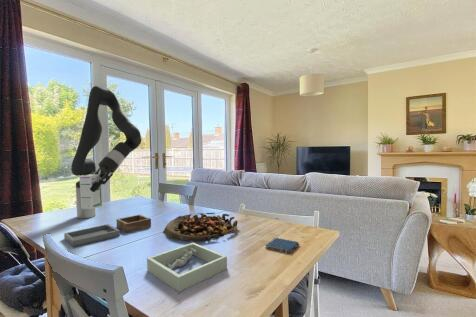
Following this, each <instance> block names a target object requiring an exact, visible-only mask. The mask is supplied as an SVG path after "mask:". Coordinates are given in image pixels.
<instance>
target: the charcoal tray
mask: <svg viewBox="0 0 476 317" xmlns="http://www.w3.org/2000/svg"><path fill="white" fill-rule="evenodd" d="M120 230H121V229H119V228H117V227H115V226H113V225H111V224H109V223H107V224H101V225H98V226H97V225H96V226H93V227H88V228H83V229H79V230H73V231H69V232H64V233H63V234H64V235H63V236H64V238H63V239H64V240H65V241H66V242H67V243H68V244H69V245H70V246H71V247H72V248H77V247H80V246H81V247H82V246H84V245H88V244H92V243H93V244H94V243H97V242H100V241H101V242H102V241H105V240H108V239H112V238H116V237H117V238H118V237H120V234H121V233H120Z"/></svg>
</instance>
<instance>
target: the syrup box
mask: <svg viewBox="0 0 476 317" xmlns="http://www.w3.org/2000/svg"><path fill="white" fill-rule="evenodd" d="M97 176H98V174H89V175H81V176H78V177H79V181H80V194H81V208H82V209H94V208H95V209H96V208H100V207H102V206H103V204H102V203H103V201H102V200H103V199H102V185H100V186H99V187H98V188H97V190H96V191H95V192H92V191H91V190H90V188H91V187H92V186H93V184H94V183H95V182H96V181H97ZM96 183H97V182H96Z"/></svg>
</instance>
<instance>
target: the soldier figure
mask: <svg viewBox="0 0 476 317" xmlns="http://www.w3.org/2000/svg"><path fill="white" fill-rule="evenodd" d="M190 249H191V250H190V251H191V252H189V251H187V250H185V249H182V250H184V251H186V254H185V255H184V256H183V257H182V258H181V259H175V260H174V261H175V262H172V263H170V264H167V268H169V269H171V270H172V271H173V269H174V268H176V267H184V266H185V265H186V263H187V262H188V260H190V259H191V258H192V256H194V254H195V253H196V252H197V251H196V250H195V249H193V248H190Z"/></svg>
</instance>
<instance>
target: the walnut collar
mask: <svg viewBox="0 0 476 317" xmlns="http://www.w3.org/2000/svg"><path fill="white" fill-rule="evenodd" d="M151 227H152V219H151V218H150V217H148V216H145V215H142V214H136V215H131V216H126V217H120V218H117V219H116V229H118V230H121V231H124V232H125V233H131V232H135V231H139V230H143V229H147V228H151Z"/></svg>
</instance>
